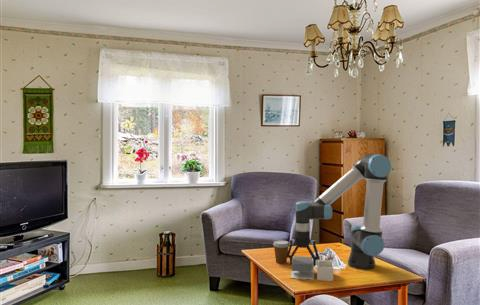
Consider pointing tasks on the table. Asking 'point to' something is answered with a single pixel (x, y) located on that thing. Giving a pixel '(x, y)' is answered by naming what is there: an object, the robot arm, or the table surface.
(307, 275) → the mat
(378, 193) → the robot arm
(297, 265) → the lid
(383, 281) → the table surface
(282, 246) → the disposable coffee cup
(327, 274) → the storage box
